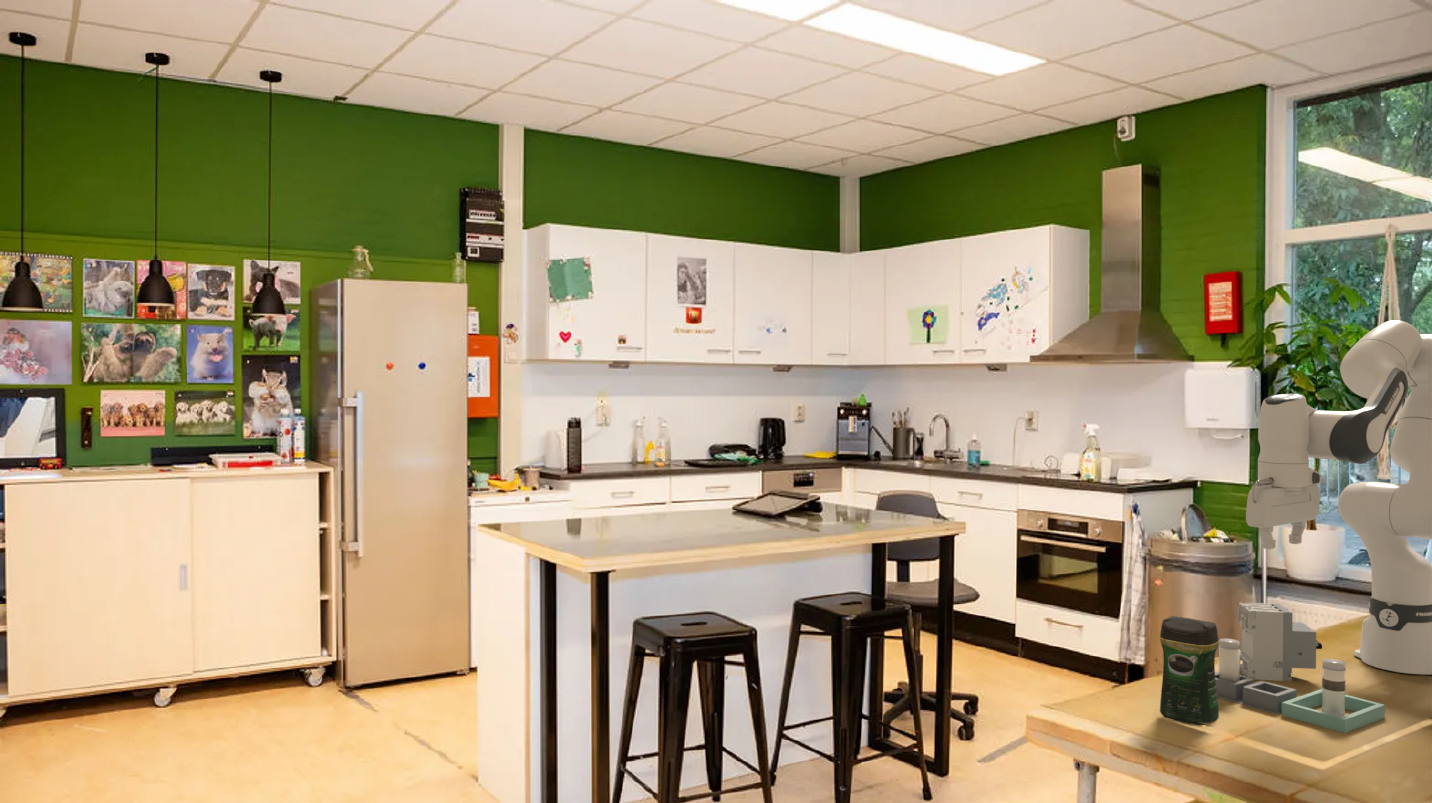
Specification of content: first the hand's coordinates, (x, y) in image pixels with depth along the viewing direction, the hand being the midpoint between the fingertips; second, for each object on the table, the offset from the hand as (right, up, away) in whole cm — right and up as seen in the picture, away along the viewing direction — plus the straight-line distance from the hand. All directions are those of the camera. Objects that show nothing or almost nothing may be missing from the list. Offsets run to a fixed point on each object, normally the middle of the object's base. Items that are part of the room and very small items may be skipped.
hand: (1282, 546), depth 203 cm
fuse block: (-10, -30, -6) cm, 31 cm away
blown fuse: (+1, -29, -16) cm, 33 cm away
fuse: (-12, -28, -2) cm, 31 cm away
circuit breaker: (+4, -29, +8) cm, 30 cm away
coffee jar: (-25, -30, -13) cm, 41 cm away
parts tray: (0, -30, -16) cm, 34 cm away
